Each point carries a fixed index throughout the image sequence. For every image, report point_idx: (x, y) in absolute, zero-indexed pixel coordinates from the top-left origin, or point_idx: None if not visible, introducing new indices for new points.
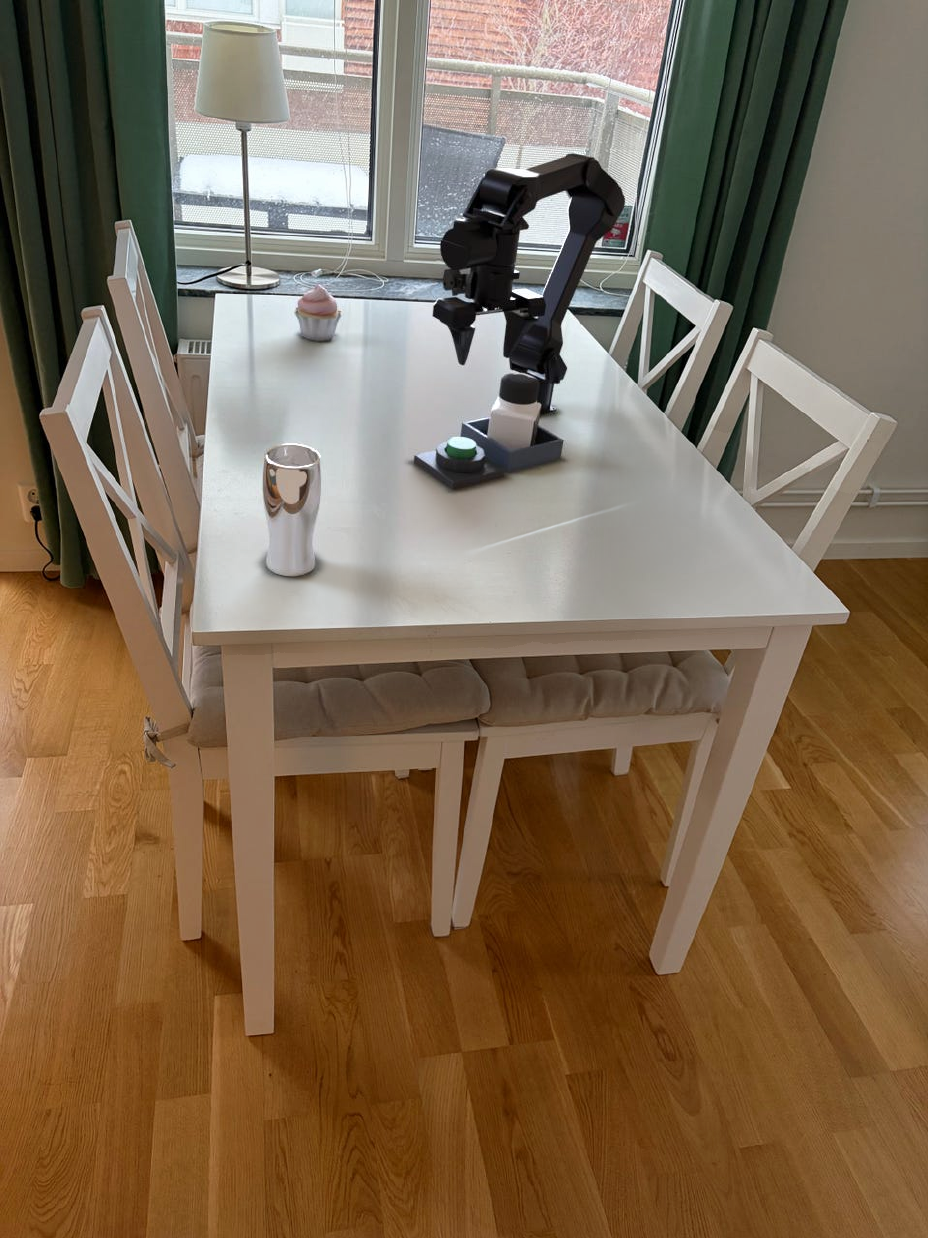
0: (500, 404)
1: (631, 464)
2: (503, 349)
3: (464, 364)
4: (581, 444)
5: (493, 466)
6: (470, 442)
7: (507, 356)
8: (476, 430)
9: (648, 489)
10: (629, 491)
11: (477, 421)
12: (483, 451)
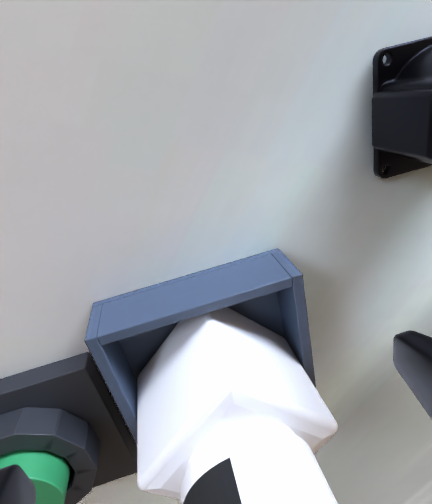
0: (186, 470)
1: (413, 404)
2: (427, 360)
3: (33, 499)
4: (388, 330)
5: (117, 463)
6: (48, 501)
7: (400, 374)
8: (114, 389)
9: (372, 472)
10: (339, 478)
11: (143, 331)
12: (92, 478)
